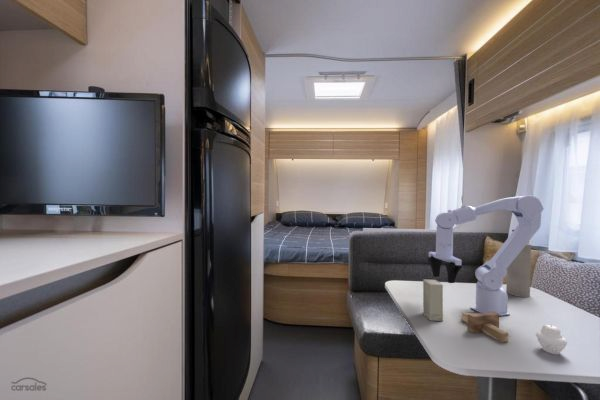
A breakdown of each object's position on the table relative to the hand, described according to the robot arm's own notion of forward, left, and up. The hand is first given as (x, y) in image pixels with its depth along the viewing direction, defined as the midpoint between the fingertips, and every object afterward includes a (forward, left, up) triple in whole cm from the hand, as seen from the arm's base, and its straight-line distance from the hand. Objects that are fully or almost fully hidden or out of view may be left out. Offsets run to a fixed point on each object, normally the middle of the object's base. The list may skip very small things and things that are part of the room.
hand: (443, 279), depth 101 cm
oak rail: (+2, +19, -10) cm, 22 cm away
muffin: (-6, +32, -10) cm, 34 cm away
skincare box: (+11, +8, -10) cm, 17 cm away
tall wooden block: (+2, +19, -10) cm, 22 cm away
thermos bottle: (-43, -5, -10) cm, 44 cm away
